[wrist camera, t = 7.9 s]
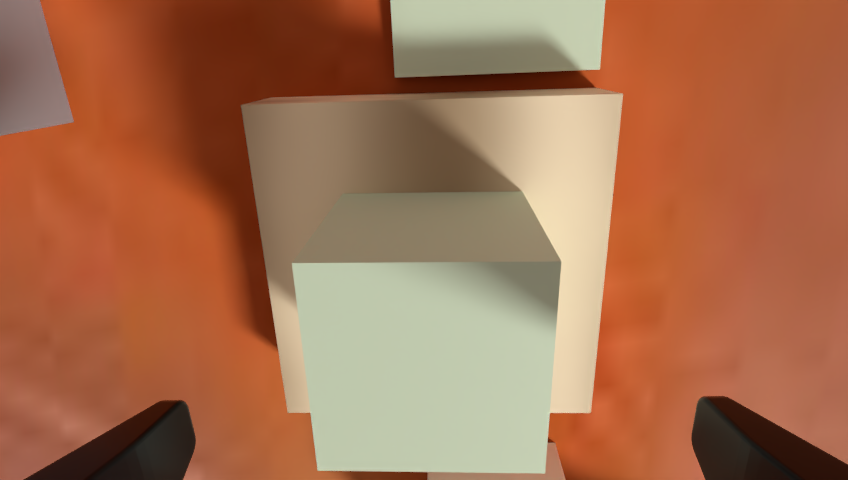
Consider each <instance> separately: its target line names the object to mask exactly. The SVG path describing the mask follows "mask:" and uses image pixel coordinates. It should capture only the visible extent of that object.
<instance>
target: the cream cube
mask: <svg viewBox="0 0 848 480" xmlns="http://www.w3.org/2000/svg"><path fill="white" fill-rule="evenodd" d="M427 480H566V479H565V476H564V472H563V469H562V465H561V462H560V458H559V455H558V451H557V448H556V444H555V443H547V455H546V468H545V474H541V473H462V472H428V478H427Z"/></svg>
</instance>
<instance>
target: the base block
mask: <svg viewBox="0 0 848 480" xmlns="http://www.w3.org/2000/svg"><path fill="white" fill-rule="evenodd" d="M622 99H623V94H622V93H618V92H613V91H609V90H604V89H600V88H568V89H534V90H501V91H468V92H435V93H402V94H369V95H336V96H302V97H271V98H267V99H263V100H259V101H255V102H251V103H247V104H243V105H241V110H242V116H243V123H244V129H245V136H246V142H247V149H248V156H249V162H250V169H251V175H252V182H253V188H254V195H255V201H256V208H257V215H258V221H259V228H260V234H261V241H262V247H263V254H264V260H265V267H266V273H267V280H268V287H269V293H270V300H271V306H272V313H273V319H274V326H275V332H276V339H277V346H278V352H279V359H280V365H281V372H282V378H283V385H284V391H285V398H286V404H287V411H288V413H310V405H309V397H308V389H307V381H306V373H305V365H304V357H303V349H302V341H301V333H300V325H299V317H298V309H297V301H296V293H295V285H294V277H293V269H292V262H293V261H294V260H295V258H296V257H297V255H298V254H299V253H300V251H301V250H302V249H303V247H304V246H305V244H306V243H307V242H308V240H309V239H310V238H311V236H312V235H313V234H314V232H315V231H316V229H317V228H318V227H319V225H320V224H321V223H322V221H323V220H324V218H325V217H326V216H327V214H328V213H329V212H330V210H331V209H332V208H333V206H334V205H335V203H336V202H337V201H338V199H339V198H340V197H341V195H342V194H347V193H426V192H505V191H522V192H523V193H524V195H525V197H526V199H527V201H528V202H529V204H530V206H531V208H532V210H533V211H534V213H535V215H536V217H537V219H538V220H539V222H540V224H541V226H542V228H543V229H544V231H545V233H546V235H547V236H548V238H549V240H550V242H551V244H552V245H553V247H554V249H555V251H556V253H557V254H558V256H559V258H560V260H561V273H560V286H559V299H558V312H557V325H556V338H555V351H554V364H553V377H552V390H551V403H550V413H591V406H592V396H593V386H594V376H595V366H596V356H597V346H598V337H599V327H600V317H601V307H602V297H603V287H604V277H605V267H606V258H607V248H608V238H609V228H610V218H611V208H612V198H613V188H614V179H615V169H616V159H617V149H618V139H619V129H620V119H621V109H622Z"/></svg>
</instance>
